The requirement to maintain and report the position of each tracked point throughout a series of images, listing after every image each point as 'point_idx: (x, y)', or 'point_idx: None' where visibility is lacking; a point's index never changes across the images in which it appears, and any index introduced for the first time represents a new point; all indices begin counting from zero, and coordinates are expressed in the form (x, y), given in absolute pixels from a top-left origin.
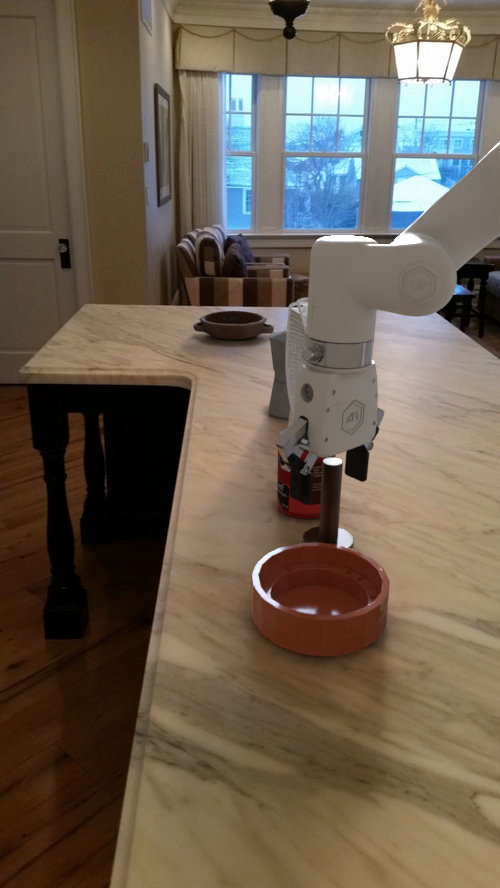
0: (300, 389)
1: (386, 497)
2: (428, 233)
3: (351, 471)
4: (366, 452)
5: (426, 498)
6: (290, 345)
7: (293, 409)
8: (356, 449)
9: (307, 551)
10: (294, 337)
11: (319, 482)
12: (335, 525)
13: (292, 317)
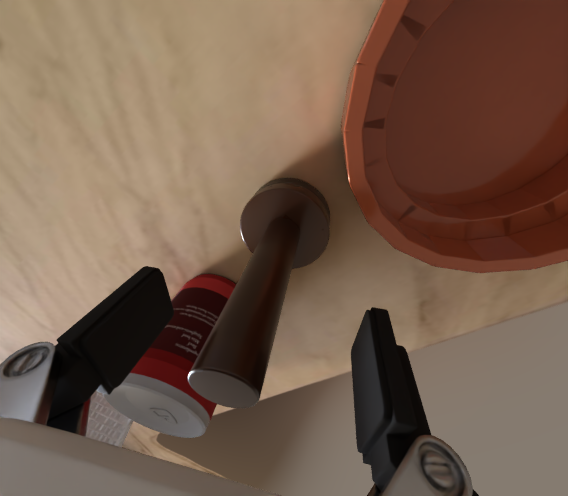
0: None
1: (108, 241)
2: None
3: (159, 310)
4: (68, 346)
5: (52, 199)
6: None
7: (120, 438)
8: (94, 371)
9: (396, 224)
10: None
11: (198, 320)
12: (279, 235)
13: None
